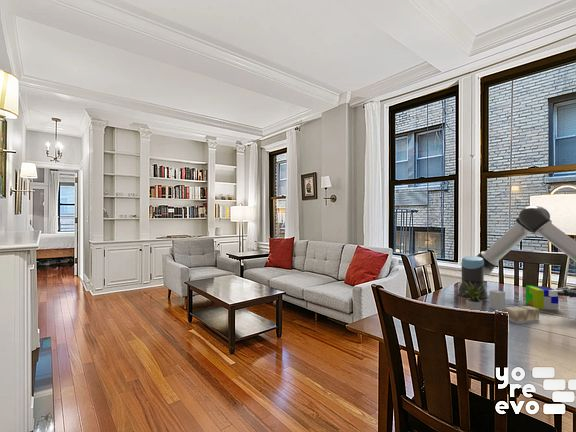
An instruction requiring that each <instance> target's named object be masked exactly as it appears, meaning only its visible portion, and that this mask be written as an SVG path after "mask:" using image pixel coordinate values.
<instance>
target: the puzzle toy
mask: <svg viewBox="0 0 576 432" xmlns="http://www.w3.org/2000/svg"><path fill="white" fill-rule="evenodd" d="M549 290H556V288H555V289H554V288H552V287H549V286H547V285H546V286H543V285H525V304H526V305H527V306H530V307H534V308H537V309H539V310H554V311H555V310H556V311H558V310H559V296H555V297H551V296H549Z"/></svg>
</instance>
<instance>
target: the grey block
mask: <svg viewBox="0 0 576 432" xmlns="http://www.w3.org/2000/svg"><path fill="white" fill-rule="evenodd" d="M488 293H489V295H488V296H489V299H488V301H489V302H488V303H489V305H488V307H489V309H493V310H497V311H502V310H503V311H504V308H505V307H506V292H505V291H503V290H497V289H493V290H489V291H488Z"/></svg>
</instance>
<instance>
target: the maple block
mask: <svg viewBox="0 0 576 432" xmlns="http://www.w3.org/2000/svg"><path fill="white" fill-rule="evenodd" d="M503 312H508V314H509V320H511V321H510V322H512V321H513V323H514V321H528V320H537V321H540V309H537V308H534V307H532V306H530V305H527V306H526V305H525V306H524V305H522V306H510V307H509V306H508V307H506V306H505V308H504V309H503ZM509 320H508V321H509Z"/></svg>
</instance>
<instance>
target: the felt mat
mask: <svg viewBox="0 0 576 432" xmlns="http://www.w3.org/2000/svg"><path fill="white" fill-rule="evenodd" d="M508 321H510V322H513V321H511V320H508ZM513 323H514V324H517V325H518V324H519V325H520V324H532V323H533V324H534V323H540V320H528V321H514V322H513Z"/></svg>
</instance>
